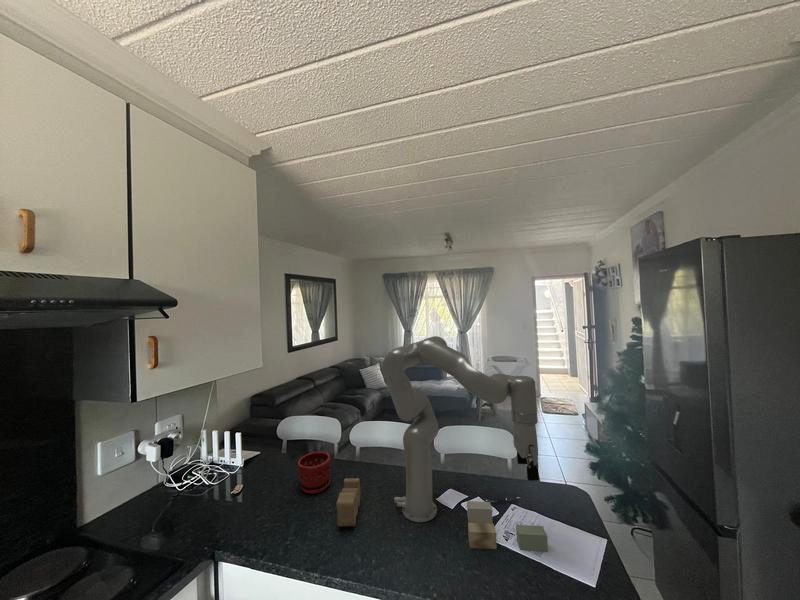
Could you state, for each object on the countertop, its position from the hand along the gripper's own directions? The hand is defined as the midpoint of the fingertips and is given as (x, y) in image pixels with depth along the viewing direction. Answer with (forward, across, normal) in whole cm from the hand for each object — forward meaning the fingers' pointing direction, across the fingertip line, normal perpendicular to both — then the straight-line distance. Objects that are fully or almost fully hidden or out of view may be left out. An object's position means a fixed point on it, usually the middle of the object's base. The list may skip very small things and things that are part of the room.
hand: (527, 471), depth 96 cm
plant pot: (+20, -26, -79) cm, 86 cm away
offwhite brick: (+22, -10, -14) cm, 28 cm away
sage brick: (+22, +1, 0) cm, 22 cm away
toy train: (+21, -10, -60) cm, 64 cm away
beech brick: (+22, +1, -15) cm, 27 cm away
